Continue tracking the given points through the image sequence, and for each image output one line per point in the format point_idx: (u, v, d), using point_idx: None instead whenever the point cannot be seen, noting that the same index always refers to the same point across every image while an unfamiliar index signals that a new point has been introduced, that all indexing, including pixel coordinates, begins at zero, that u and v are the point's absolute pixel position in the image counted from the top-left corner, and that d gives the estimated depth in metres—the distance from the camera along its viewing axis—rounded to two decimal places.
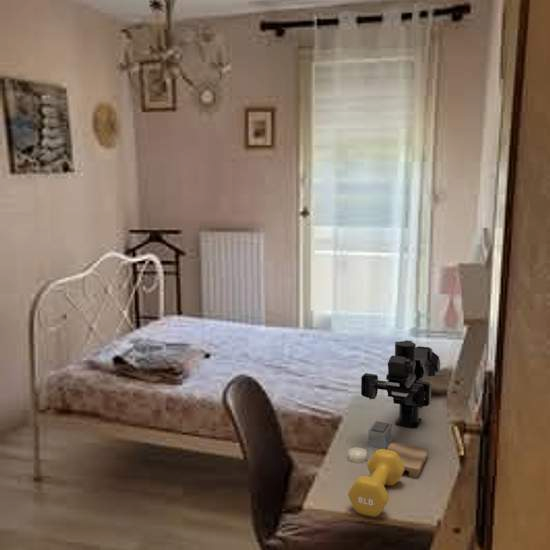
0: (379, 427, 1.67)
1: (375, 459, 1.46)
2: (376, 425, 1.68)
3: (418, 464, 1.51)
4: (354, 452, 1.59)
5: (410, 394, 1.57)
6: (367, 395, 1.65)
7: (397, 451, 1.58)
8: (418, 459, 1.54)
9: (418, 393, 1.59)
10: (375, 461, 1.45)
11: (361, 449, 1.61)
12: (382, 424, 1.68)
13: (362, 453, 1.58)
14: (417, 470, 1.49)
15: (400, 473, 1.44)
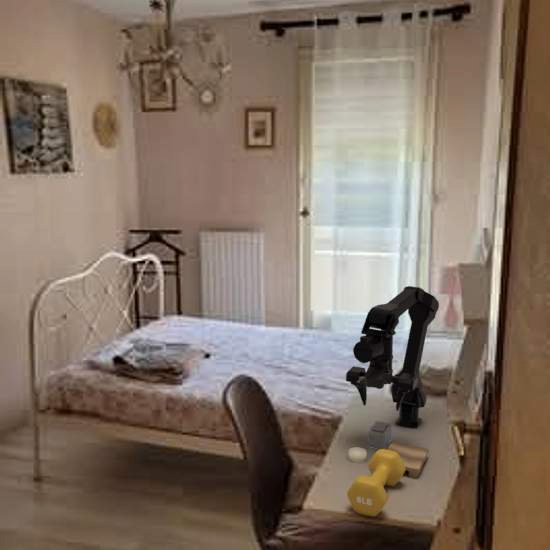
0: (379, 427, 1.67)
1: (376, 459, 1.46)
2: (376, 425, 1.68)
3: (418, 464, 1.51)
4: (354, 452, 1.59)
5: (398, 400, 1.63)
6: None
7: (397, 451, 1.58)
8: (418, 459, 1.54)
9: None
10: (376, 461, 1.45)
11: (361, 449, 1.61)
12: (382, 424, 1.68)
13: (362, 453, 1.58)
14: (417, 470, 1.49)
15: (401, 473, 1.44)
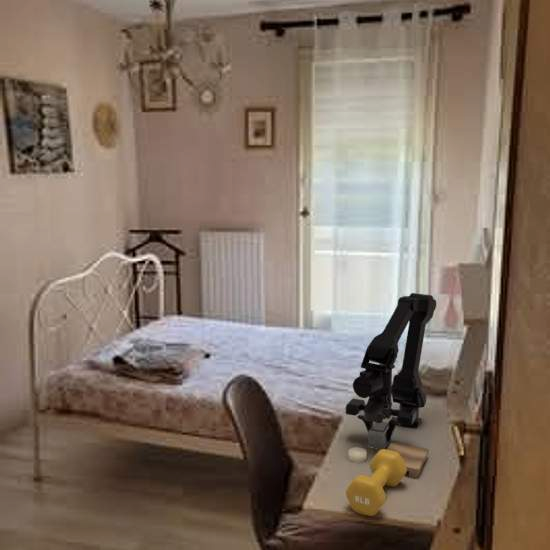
0: (379, 426, 1.67)
1: (377, 459, 1.45)
2: (376, 425, 1.68)
3: (418, 464, 1.51)
4: (354, 452, 1.59)
5: (390, 432, 1.65)
6: None
7: (397, 451, 1.58)
8: (418, 459, 1.54)
9: None
10: (377, 461, 1.45)
11: (361, 449, 1.61)
12: (382, 424, 1.68)
13: (362, 453, 1.58)
14: (417, 470, 1.49)
15: (401, 474, 1.43)
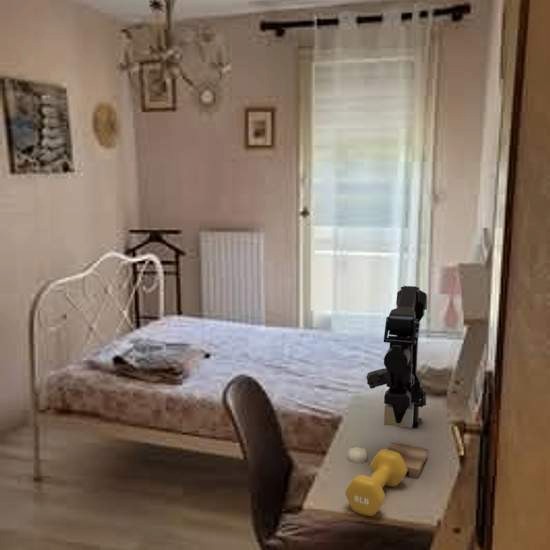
0: None
1: (378, 459, 1.45)
2: None
3: (418, 464, 1.51)
4: (354, 452, 1.59)
5: None
6: None
7: (397, 451, 1.58)
8: (418, 459, 1.54)
9: None
10: (377, 461, 1.45)
11: (361, 449, 1.61)
12: None
13: (362, 453, 1.58)
14: (417, 470, 1.49)
15: (402, 474, 1.43)
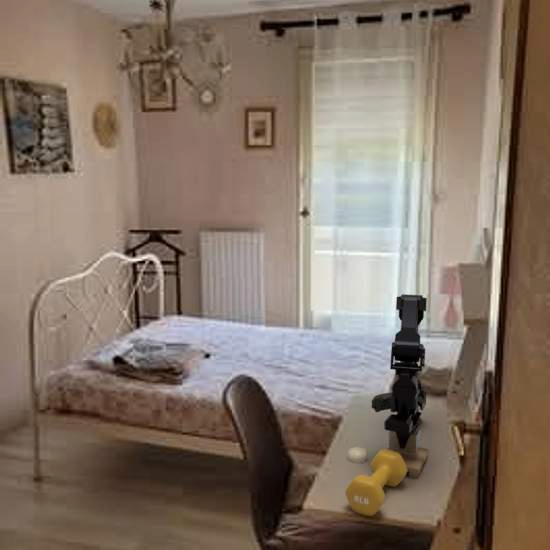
0: None
1: (378, 459, 1.45)
2: None
3: (418, 464, 1.51)
4: (354, 452, 1.59)
5: None
6: None
7: (397, 451, 1.58)
8: (418, 459, 1.54)
9: None
10: (377, 461, 1.45)
11: (361, 449, 1.61)
12: None
13: (362, 453, 1.58)
14: (417, 470, 1.49)
15: (402, 474, 1.43)
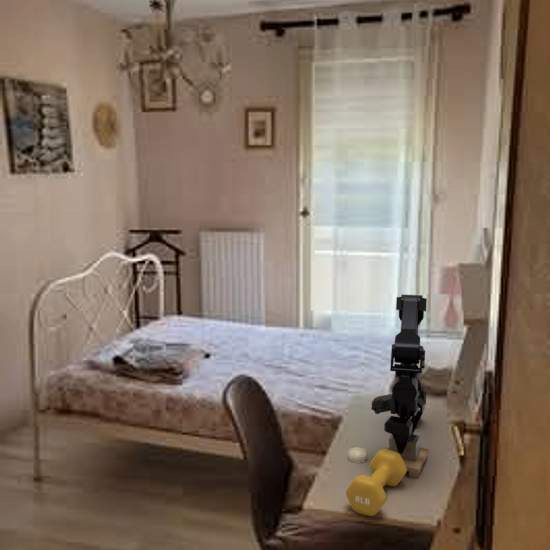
0: None
1: (377, 459, 1.46)
2: None
3: (418, 464, 1.51)
4: (354, 452, 1.59)
5: None
6: None
7: None
8: (418, 459, 1.54)
9: None
10: (377, 461, 1.45)
11: (361, 449, 1.61)
12: None
13: (362, 453, 1.58)
14: (417, 470, 1.49)
15: (401, 474, 1.43)
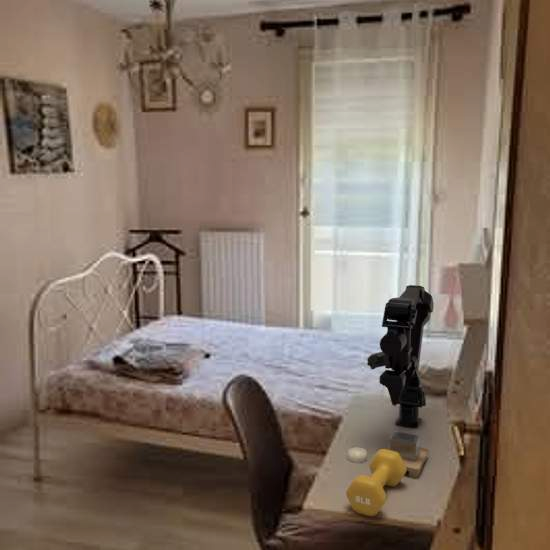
0: (402, 435, 1.55)
1: (377, 459, 1.46)
2: (405, 434, 1.56)
3: (418, 464, 1.51)
4: (354, 452, 1.59)
5: None
6: None
7: None
8: (418, 459, 1.54)
9: None
10: (376, 461, 1.45)
11: (361, 449, 1.61)
12: (409, 437, 1.54)
13: (362, 453, 1.58)
14: (417, 470, 1.49)
15: (401, 474, 1.43)
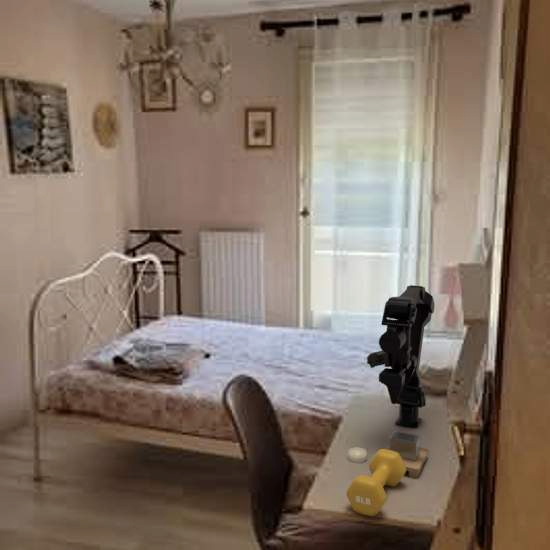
0: (402, 435, 1.55)
1: (377, 459, 1.46)
2: (405, 434, 1.56)
3: (418, 464, 1.51)
4: (354, 452, 1.59)
5: None
6: None
7: None
8: (418, 459, 1.54)
9: None
10: (376, 461, 1.45)
11: (361, 449, 1.61)
12: (409, 437, 1.54)
13: (362, 453, 1.58)
14: (417, 470, 1.49)
15: (401, 474, 1.44)
